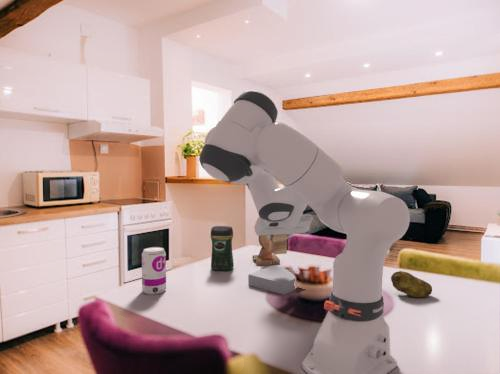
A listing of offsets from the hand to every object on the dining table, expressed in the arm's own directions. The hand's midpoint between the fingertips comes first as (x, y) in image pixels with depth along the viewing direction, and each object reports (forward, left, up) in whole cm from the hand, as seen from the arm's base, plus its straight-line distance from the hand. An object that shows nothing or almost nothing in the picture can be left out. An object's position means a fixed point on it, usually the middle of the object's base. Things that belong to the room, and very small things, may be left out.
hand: (277, 237), depth 132 cm
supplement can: (-34, +29, -18) cm, 48 cm away
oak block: (0, 0, -5) cm, 5 cm away
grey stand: (0, -1, -17) cm, 17 cm away
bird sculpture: (+22, +21, -18) cm, 35 cm away
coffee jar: (+1, +29, -18) cm, 34 cm away
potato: (+19, -43, -18) cm, 50 cm away
